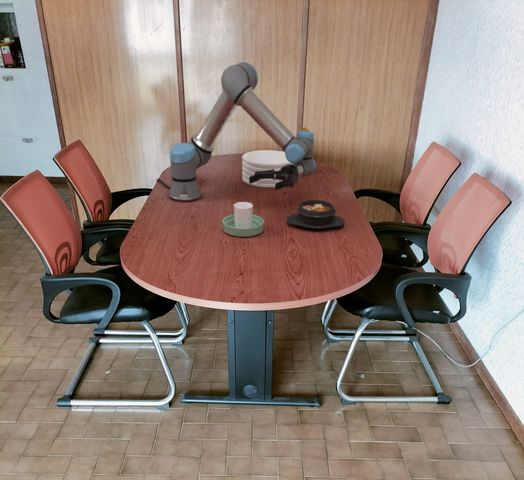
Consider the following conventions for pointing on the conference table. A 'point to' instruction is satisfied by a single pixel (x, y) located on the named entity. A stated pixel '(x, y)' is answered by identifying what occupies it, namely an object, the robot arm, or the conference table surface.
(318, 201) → the casserole
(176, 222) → the conference table surface
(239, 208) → the white cup
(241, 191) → the conference table surface
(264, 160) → the plate stack
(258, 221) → the basin
